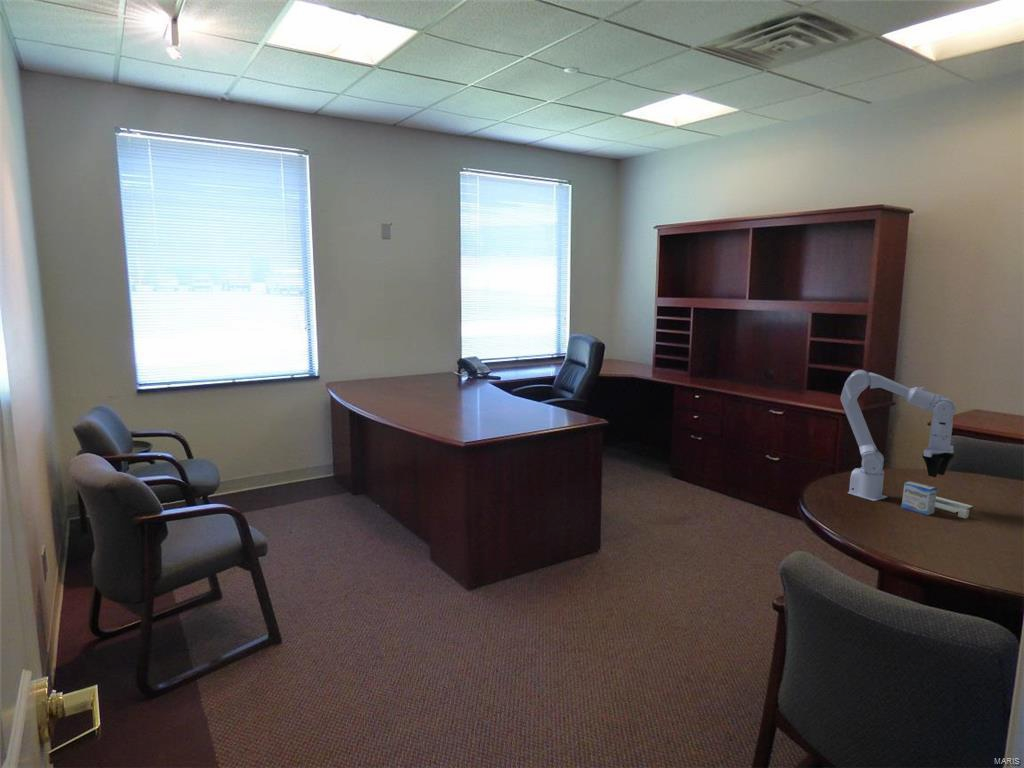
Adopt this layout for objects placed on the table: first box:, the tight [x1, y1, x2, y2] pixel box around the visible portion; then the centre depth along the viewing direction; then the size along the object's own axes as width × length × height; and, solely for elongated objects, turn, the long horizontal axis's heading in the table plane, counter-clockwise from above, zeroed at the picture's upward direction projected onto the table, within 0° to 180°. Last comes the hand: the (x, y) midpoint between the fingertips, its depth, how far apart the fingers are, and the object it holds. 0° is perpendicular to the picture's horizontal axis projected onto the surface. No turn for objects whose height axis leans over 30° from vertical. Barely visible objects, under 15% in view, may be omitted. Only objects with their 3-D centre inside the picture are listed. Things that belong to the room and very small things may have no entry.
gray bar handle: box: [957, 509, 970, 519], centre depth 196 cm, size 18×2×2 cm, turn 30°
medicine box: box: [901, 481, 938, 516], centre depth 194 cm, size 8×4×9 cm, turn 30°
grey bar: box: [935, 498, 970, 510], centre depth 195 cm, size 18×1×1 cm, turn 30°
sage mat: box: [935, 495, 974, 514], centre depth 201 cm, size 14×12×1 cm
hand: (936, 475), depth 197 cm, fingers open, 4 cm apart
